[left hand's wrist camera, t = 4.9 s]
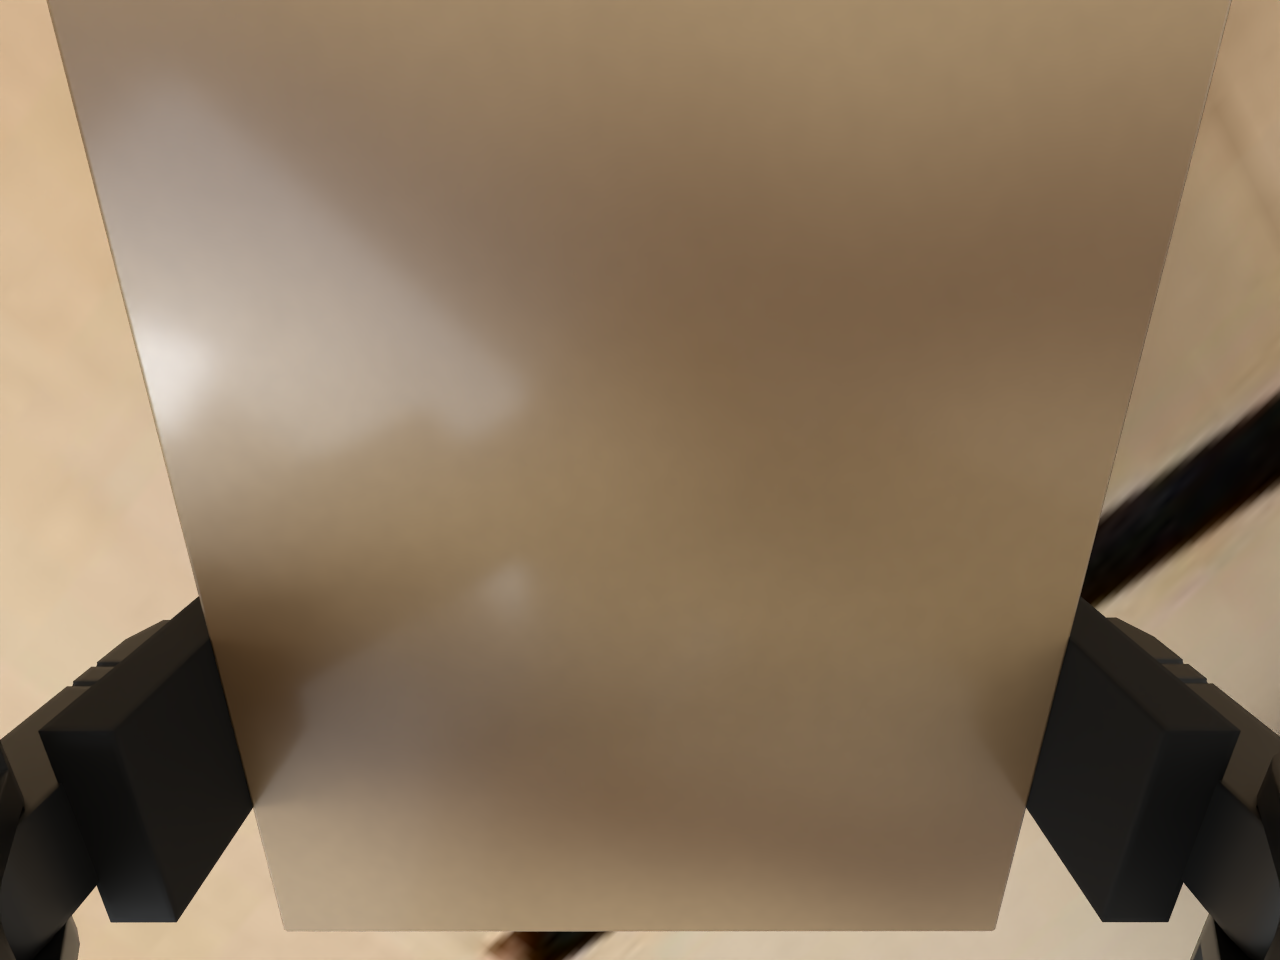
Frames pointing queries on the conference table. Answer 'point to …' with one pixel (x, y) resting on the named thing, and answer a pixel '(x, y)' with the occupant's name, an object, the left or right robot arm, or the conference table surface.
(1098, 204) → the cabinet
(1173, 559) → the conference table surface
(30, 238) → the conference table surface
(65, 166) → the conference table surface
